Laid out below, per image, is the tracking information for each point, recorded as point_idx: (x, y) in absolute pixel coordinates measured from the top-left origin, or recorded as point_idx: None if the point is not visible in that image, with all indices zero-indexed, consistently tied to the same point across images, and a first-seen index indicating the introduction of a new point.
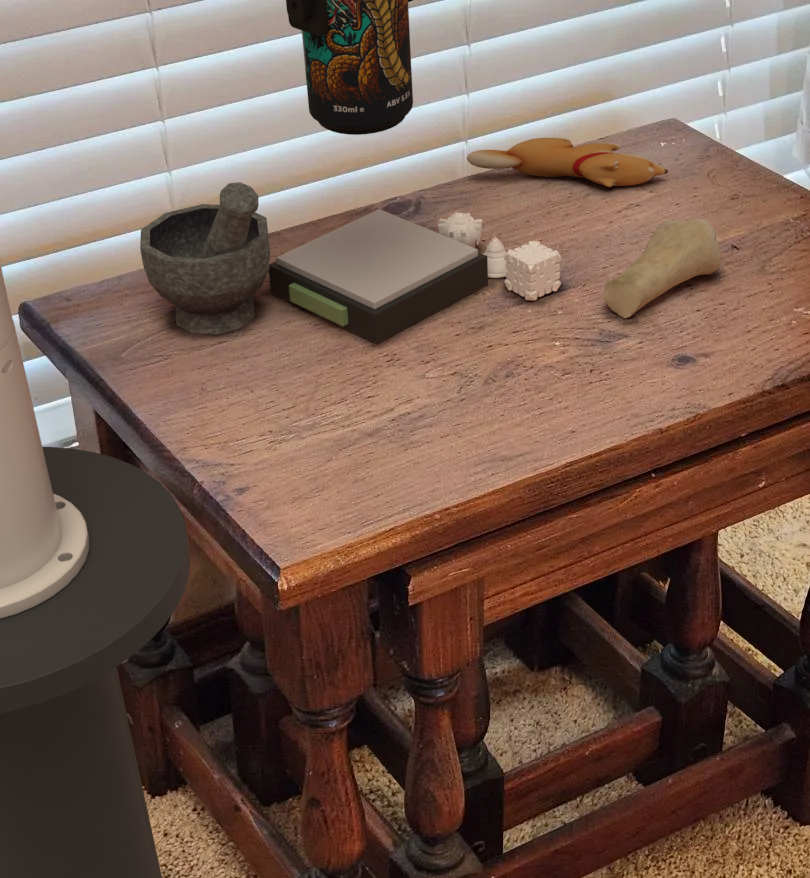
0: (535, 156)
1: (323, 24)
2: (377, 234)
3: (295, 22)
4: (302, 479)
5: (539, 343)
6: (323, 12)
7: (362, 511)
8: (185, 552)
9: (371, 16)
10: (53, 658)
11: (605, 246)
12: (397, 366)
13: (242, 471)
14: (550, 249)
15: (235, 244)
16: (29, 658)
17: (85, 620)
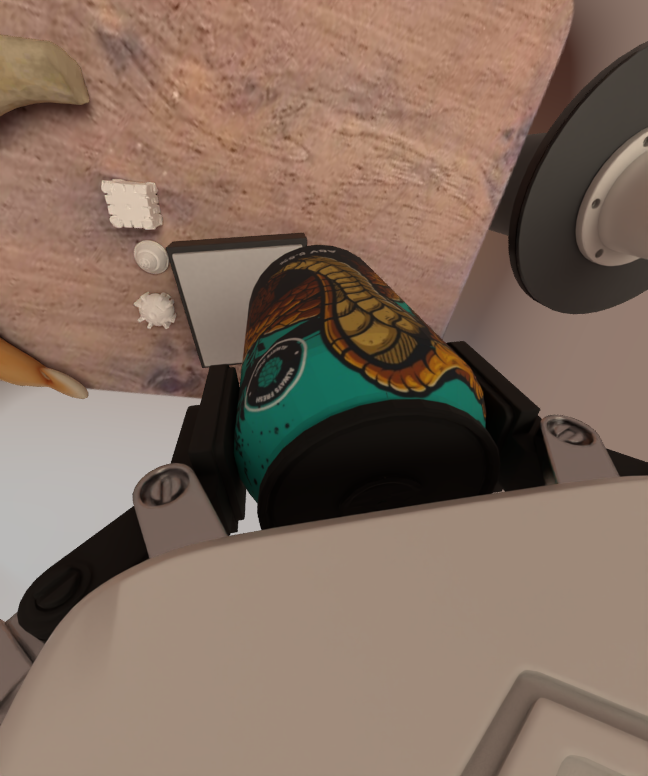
0: (24, 364)
1: (464, 348)
2: (230, 335)
3: None
4: (476, 104)
5: (190, 112)
6: (474, 359)
7: (491, 5)
8: (597, 86)
9: (397, 305)
10: None
11: (26, 215)
12: (313, 190)
13: (488, 157)
14: (106, 197)
15: None
16: None
17: None
